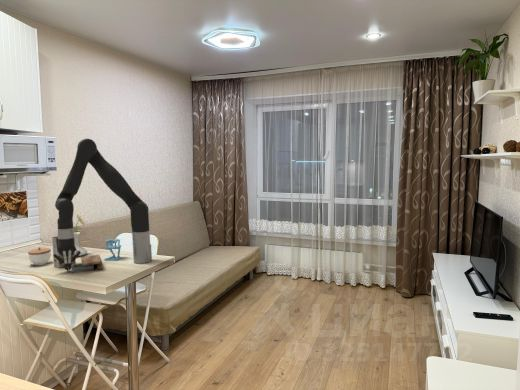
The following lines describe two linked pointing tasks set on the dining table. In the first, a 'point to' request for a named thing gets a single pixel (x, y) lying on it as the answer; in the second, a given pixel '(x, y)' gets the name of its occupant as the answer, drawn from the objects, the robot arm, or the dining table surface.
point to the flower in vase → (78, 247)
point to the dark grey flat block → (81, 267)
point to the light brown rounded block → (92, 261)
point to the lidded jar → (39, 256)
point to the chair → (113, 248)
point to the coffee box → (55, 249)
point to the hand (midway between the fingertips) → (68, 270)
